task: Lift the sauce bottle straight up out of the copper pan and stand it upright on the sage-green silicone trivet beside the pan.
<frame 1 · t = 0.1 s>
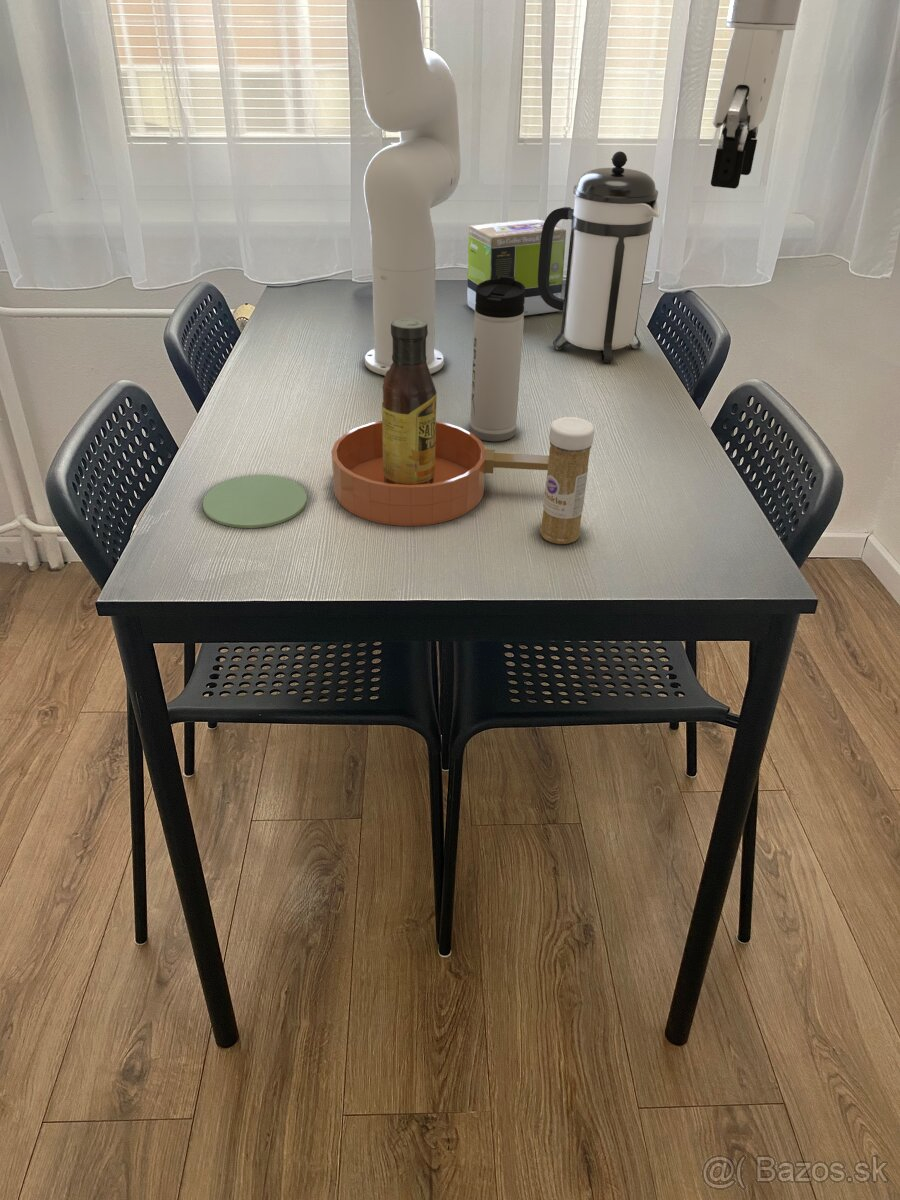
hand: (730, 180, 108), 31 cm above the table, tool pointing down, fingers open, 9 cm apart
coffee press: (588, 348, 149), on the table
tea box: (512, 310, 165), on the table
sauce bottle: (409, 487, 107), resting on pan
trivet: (255, 502, 103), on the table
pan handle: (531, 463, 104), point 4 cm above the table
pan: (409, 487, 107), on the table
sprinkles bottle: (559, 536, 99), on the table
travel mug: (493, 433, 121), on the table
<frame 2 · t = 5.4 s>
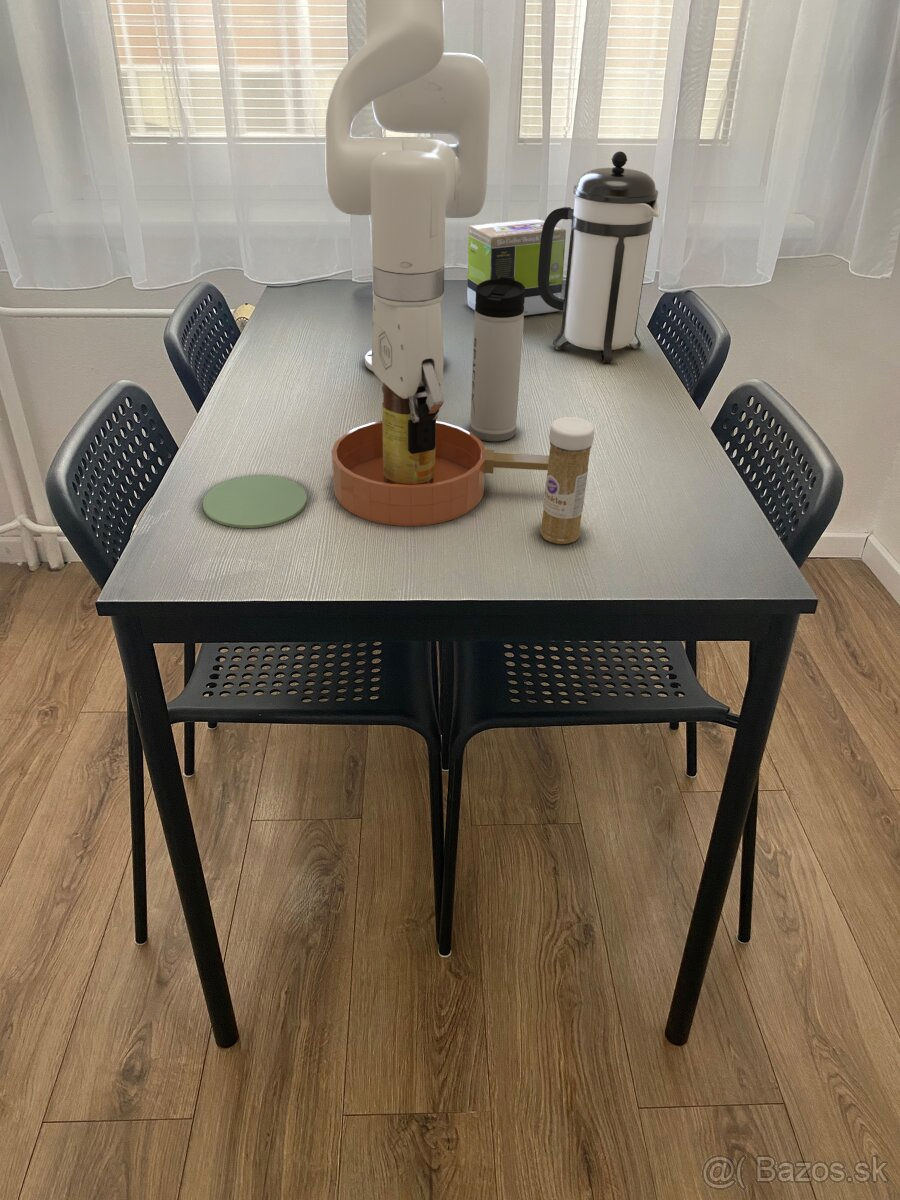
hand: (409, 437, 103), 7 cm above the table, tool pointing down, fingers closed on sauce bottle, 6 cm apart
sauce bottle: (409, 487, 107), resting on pan, touching gripper
everything else where it was.
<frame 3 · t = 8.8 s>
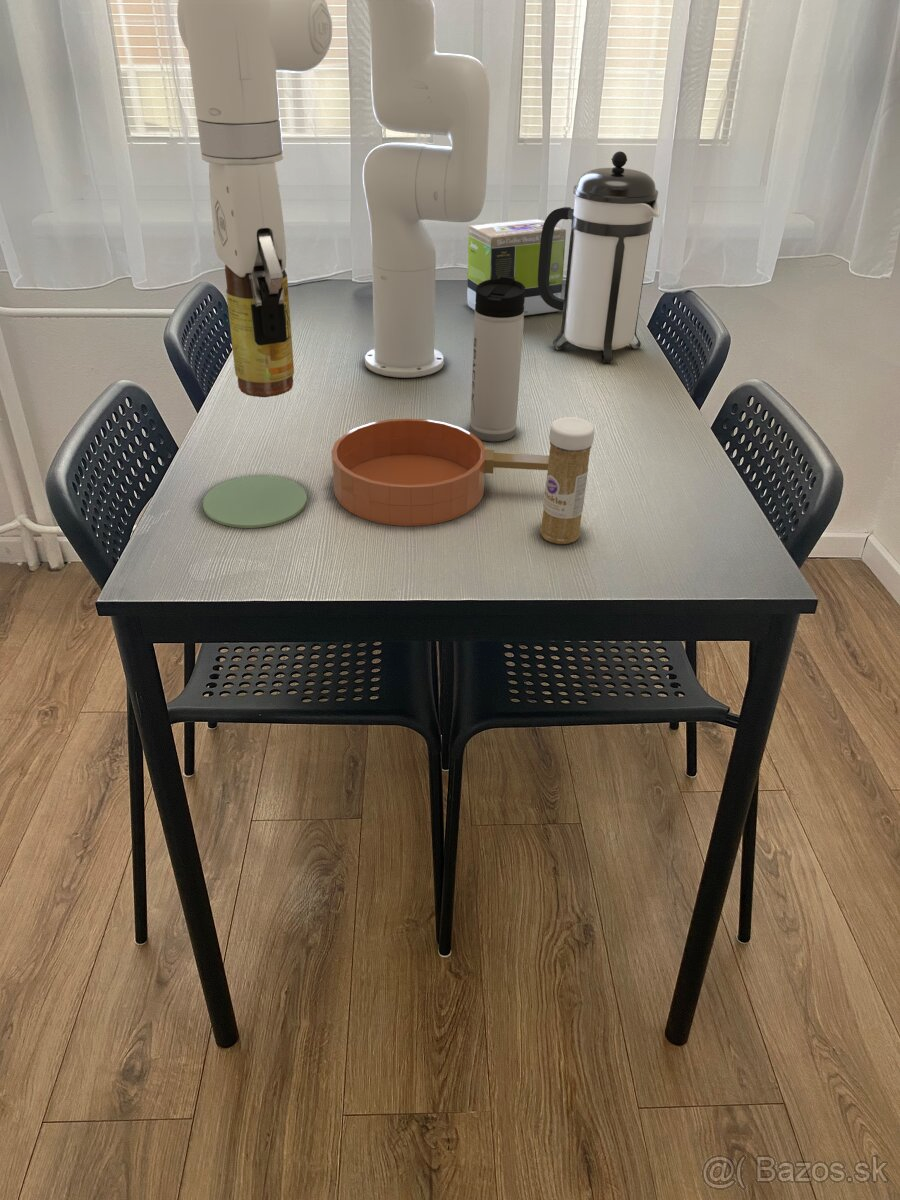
hand: (260, 330, 92), 20 cm above the table, tool pointing down, fingers closed on sauce bottle, 6 cm apart
sauce bottle: (267, 390, 96), point 14 cm above the table, touching gripper
everything else where it was.
when the fingers open (7 cm above the table, at t = 12.5 s): sauce bottle stays where it is, resting on trivet.
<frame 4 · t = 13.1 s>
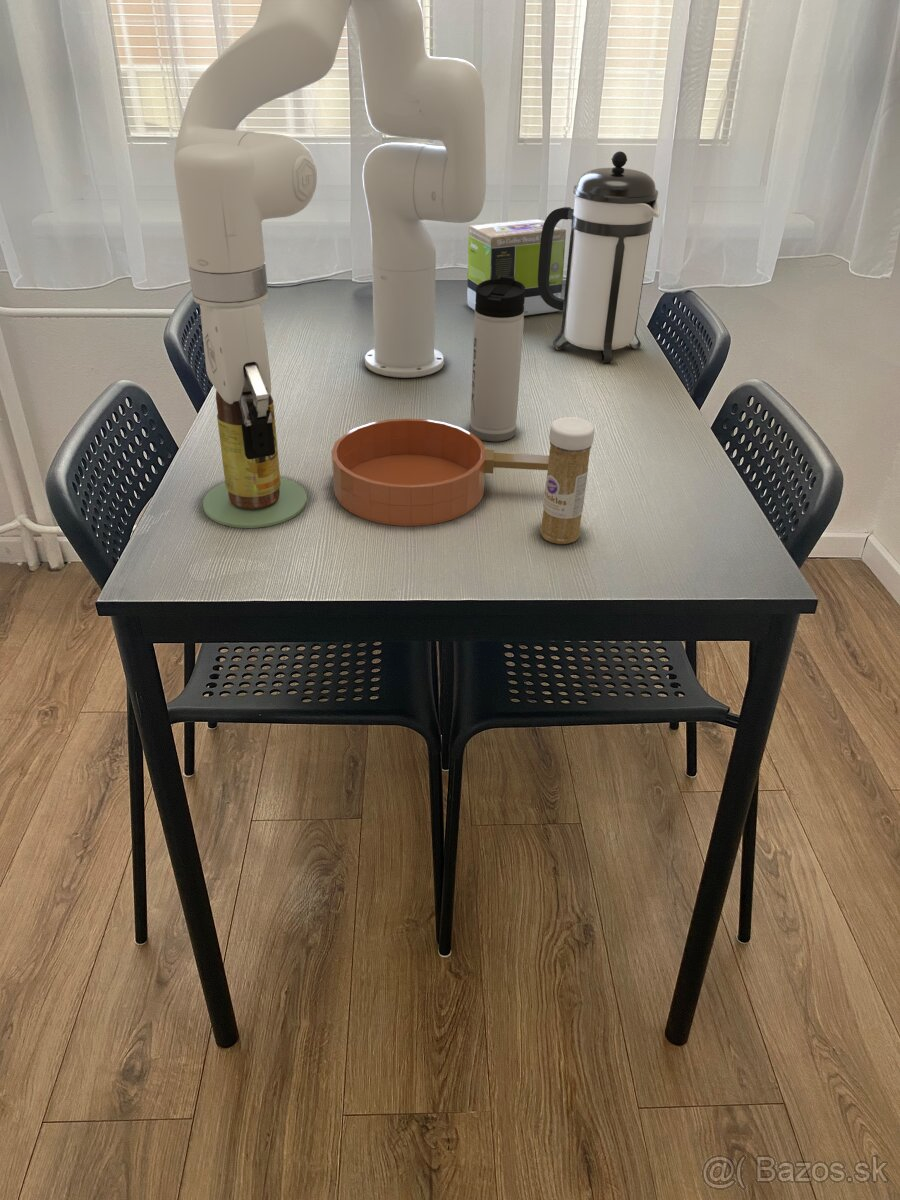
hand: (248, 438, 99), 8 cm above the table, tool pointing down, fingers open, 9 cm apart
sauce bottle: (255, 500, 103), resting on trivet
everything else where it was.
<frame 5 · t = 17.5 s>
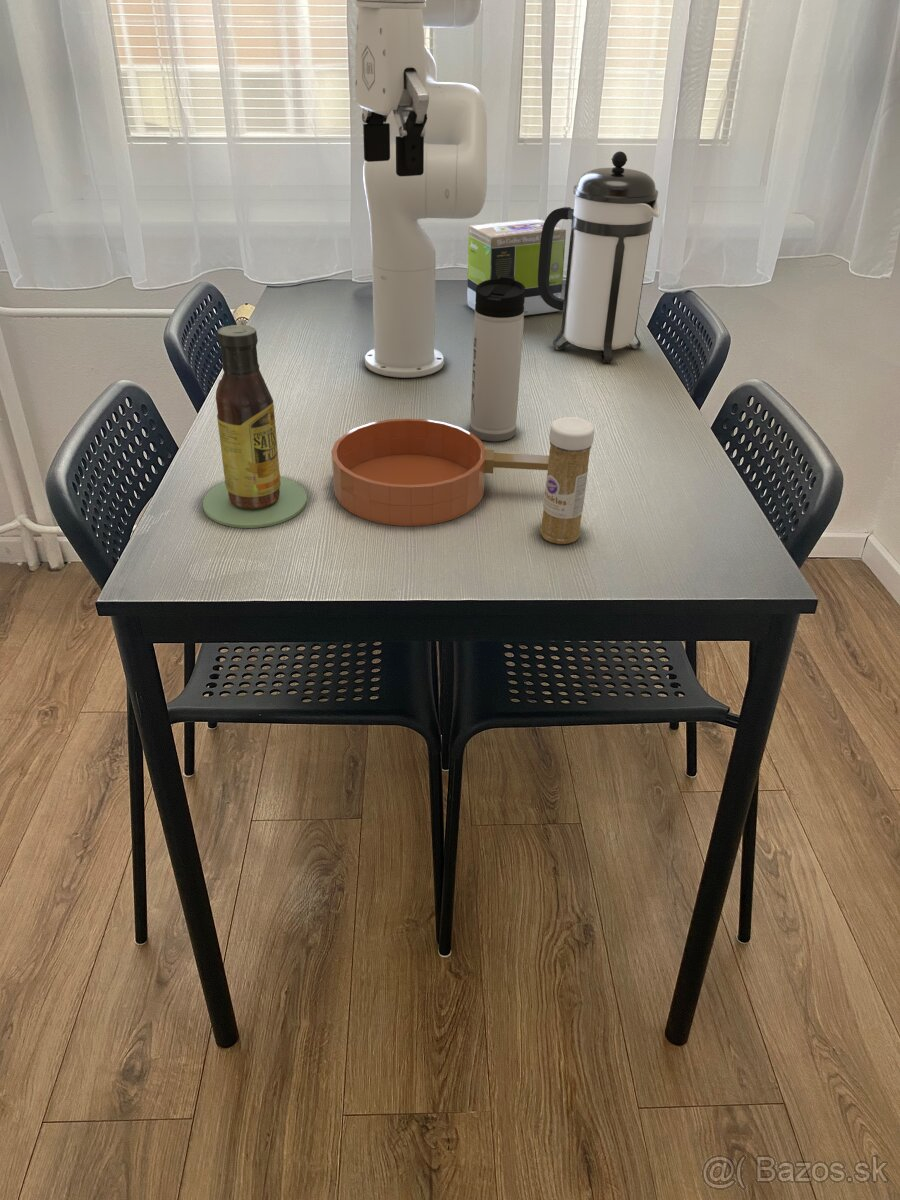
hand: (393, 167, 104), 32 cm above the table, tool pointing down, fingers open, 9 cm apart
nothing on the table moved.
at the end: sauce bottle inside the target area on the trivet (0.1 cm from its centre), point 0.2 cm above the trivet's base; sauce bottle tilted 0°; sauce bottle touching trivet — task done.
